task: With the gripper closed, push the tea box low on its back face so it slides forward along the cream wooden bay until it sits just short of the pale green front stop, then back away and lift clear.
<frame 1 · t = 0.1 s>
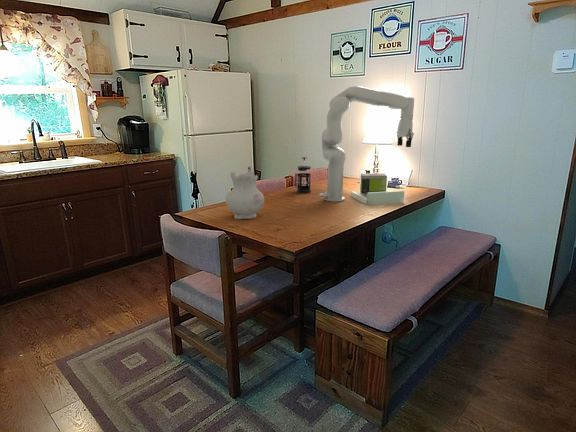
hand: (404, 146, 237), 31 cm above the table, tool pointing down, fingers open, 9 cm apart
bay: (376, 199, 235), on the table
ceramic pitcher: (246, 216, 199), on the table
french press: (303, 192, 255), on the table
tea box: (372, 198, 240), on the table
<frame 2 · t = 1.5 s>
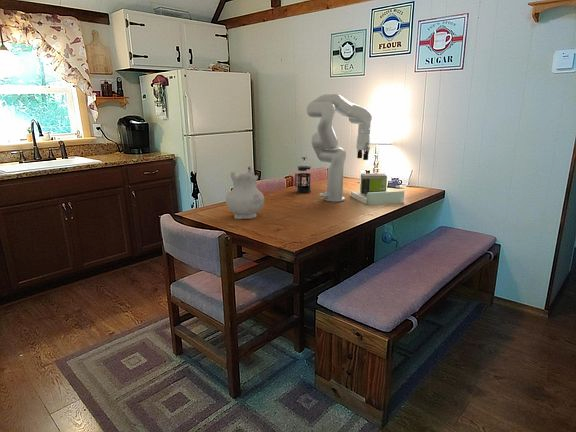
hand: (362, 158, 249), 22 cm above the table, tool pointing down, fingers open, 8 cm apart
nothing on the table moved.
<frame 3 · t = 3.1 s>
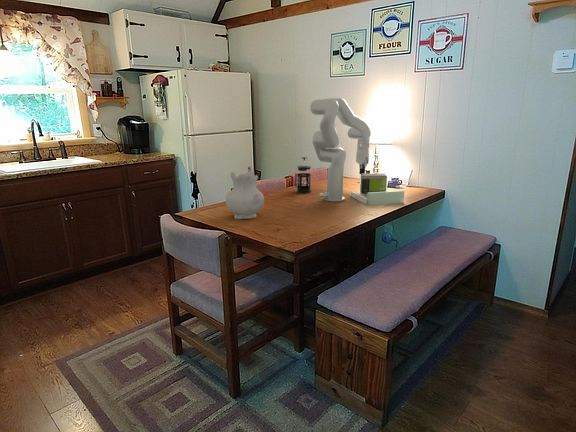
hand: (362, 174, 253), 12 cm above the table, tool pointing down, fingers closed
nothing on the table moved.
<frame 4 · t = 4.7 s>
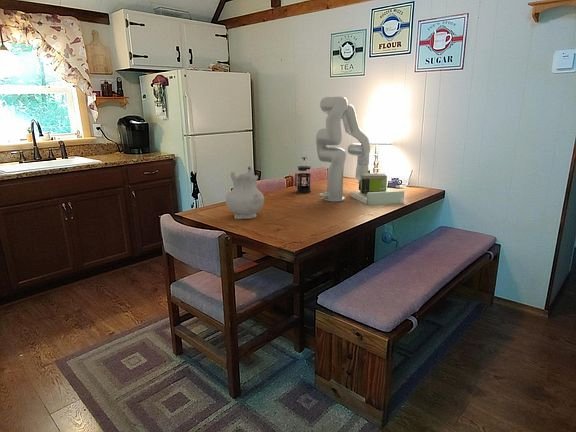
hand: (361, 190, 254), 2 cm above the table, tool pointing down, fingers closed
nothing on the table moved.
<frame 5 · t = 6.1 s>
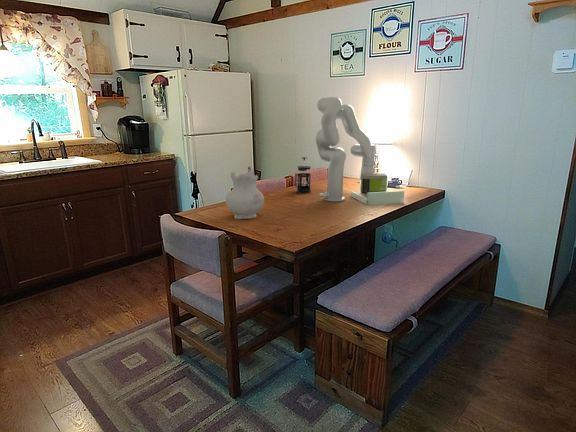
hand: (366, 192, 247), 2 cm above the table, tool pointing down, fingers closed
tea box: (372, 197, 239), on the table, touching gripper
everything else where it was.
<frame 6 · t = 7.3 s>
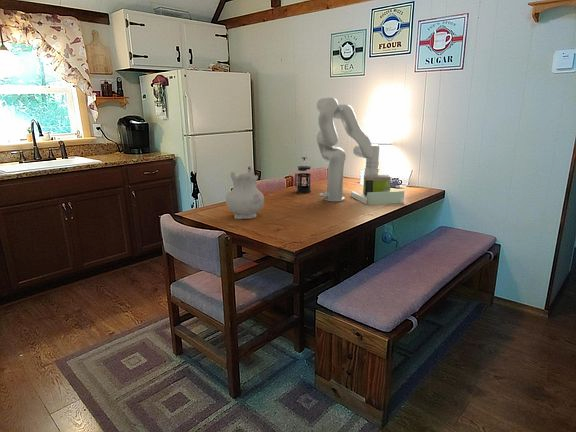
hand: (370, 193, 242), 2 cm above the table, tool pointing down, fingers closed
tea box: (375, 199, 235), on the table, touching gripper
everything else where it was.
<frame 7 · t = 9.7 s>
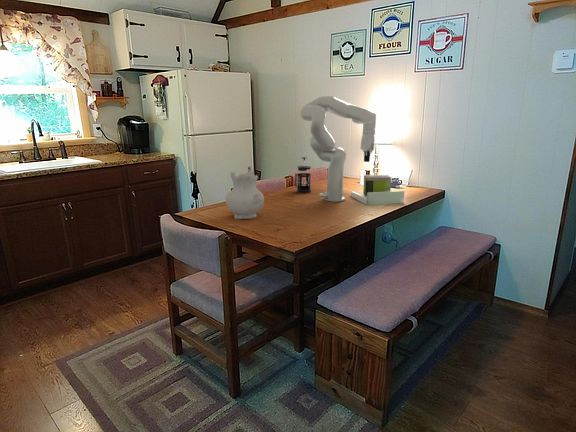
hand: (366, 161, 243), 21 cm above the table, tool pointing down, fingers closed
tea box: (375, 200, 234), on the table
everything else where it was.
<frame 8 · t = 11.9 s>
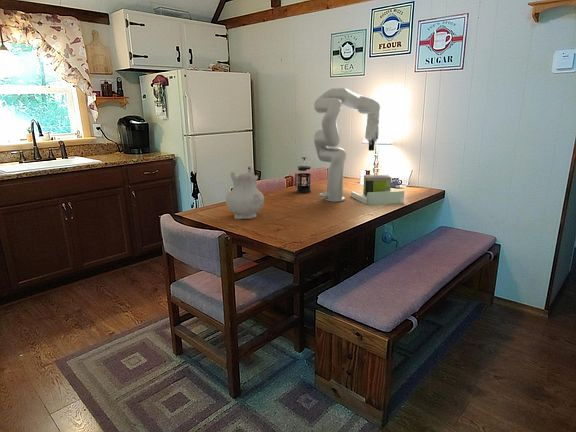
hand: (371, 150, 251), 27 cm above the table, tool pointing down, fingers closed
nothing on the table moved.
at the end: tea box inside the target area (1.4 cm from its centre), on the table; tea box tilted 0°; tea box moved 5.7 cm from its start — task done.
